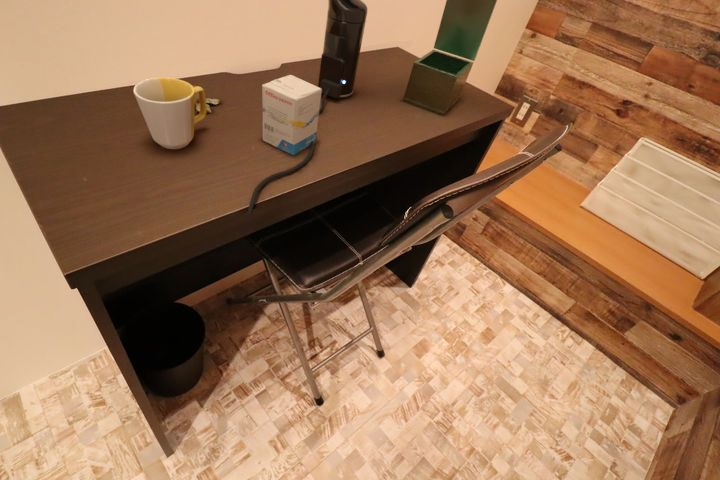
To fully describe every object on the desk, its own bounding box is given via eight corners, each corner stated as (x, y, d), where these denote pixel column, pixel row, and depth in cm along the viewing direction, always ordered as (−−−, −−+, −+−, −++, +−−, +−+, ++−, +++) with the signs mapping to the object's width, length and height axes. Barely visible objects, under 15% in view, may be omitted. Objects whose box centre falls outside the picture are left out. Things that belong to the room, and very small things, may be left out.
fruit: (206, 116, 81) (204, 99, 78) (171, 108, 82) (168, 91, 79) (221, 101, 87) (220, 85, 84) (189, 93, 87) (186, 77, 84)
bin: (442, 115, 96) (457, 76, 89) (402, 100, 100) (413, 62, 92) (458, 99, 106) (473, 62, 98) (421, 85, 109) (433, 49, 102)
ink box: (316, 142, 79) (323, 87, 71) (292, 156, 74) (296, 99, 66) (286, 127, 82) (289, 72, 74) (261, 140, 77) (261, 83, 69)
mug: (162, 161, 68) (150, 106, 60) (137, 137, 72) (122, 83, 64) (225, 142, 75) (221, 90, 67) (199, 121, 79) (192, 70, 72)
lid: (499, -7, 85) (505, -14, 87) (451, -20, 88) (458, -26, 90) (473, 61, 98) (479, 53, 100) (433, 48, 101) (440, 41, 103)
